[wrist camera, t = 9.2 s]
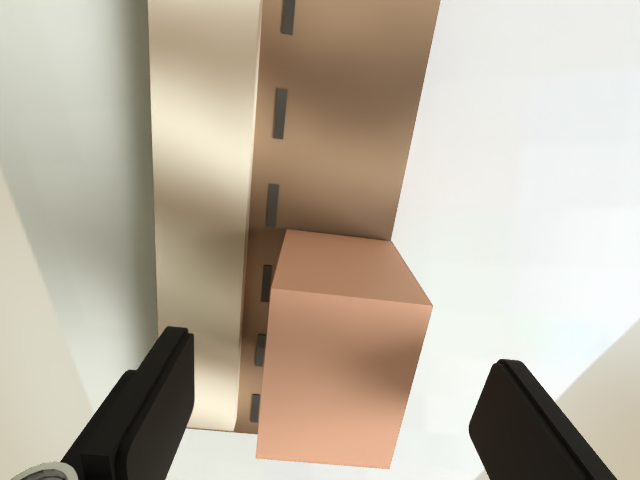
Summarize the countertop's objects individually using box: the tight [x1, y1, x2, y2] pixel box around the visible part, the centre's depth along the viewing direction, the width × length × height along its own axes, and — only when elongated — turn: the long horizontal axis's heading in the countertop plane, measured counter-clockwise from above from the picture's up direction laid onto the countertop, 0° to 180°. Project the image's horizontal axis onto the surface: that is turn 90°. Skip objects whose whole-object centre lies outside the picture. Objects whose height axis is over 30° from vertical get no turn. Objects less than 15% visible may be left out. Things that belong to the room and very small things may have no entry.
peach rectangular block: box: [256, 229, 433, 469], centre depth 14 cm, size 7×5×6 cm
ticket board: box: [148, 0, 440, 434], centre depth 16 cm, size 28×11×2 cm, turn 173°
